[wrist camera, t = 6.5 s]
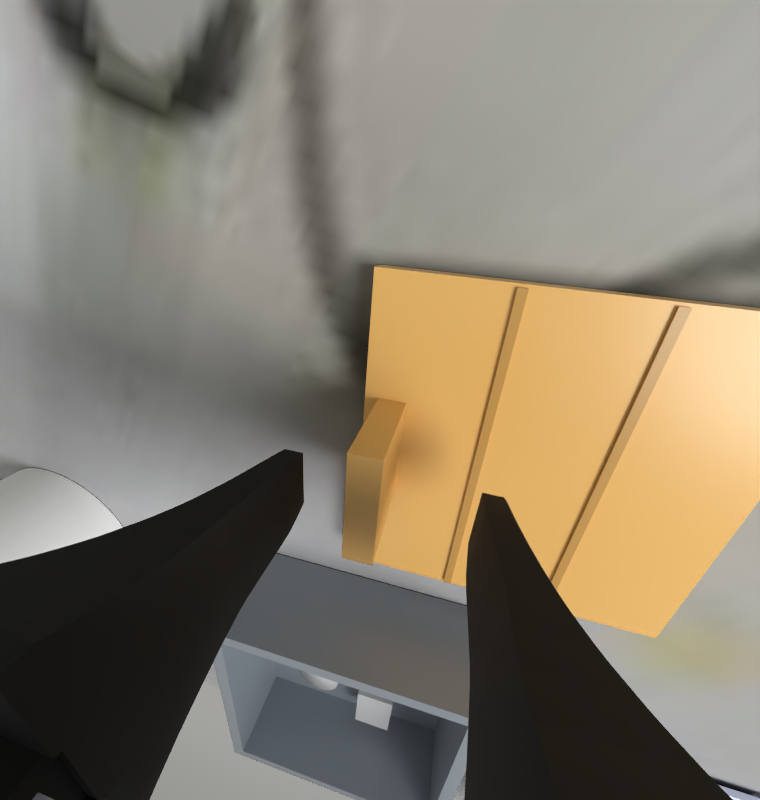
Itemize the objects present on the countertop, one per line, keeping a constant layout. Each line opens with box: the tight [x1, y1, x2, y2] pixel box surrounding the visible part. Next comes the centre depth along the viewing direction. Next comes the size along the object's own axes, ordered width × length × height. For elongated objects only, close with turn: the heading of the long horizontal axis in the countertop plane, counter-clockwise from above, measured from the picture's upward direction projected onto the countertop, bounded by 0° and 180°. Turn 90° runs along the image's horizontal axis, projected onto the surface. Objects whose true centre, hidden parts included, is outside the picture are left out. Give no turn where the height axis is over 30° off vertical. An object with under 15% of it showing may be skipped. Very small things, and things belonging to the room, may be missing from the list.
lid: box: [342, 265, 760, 638], centre depth 11 cm, size 13×13×5 cm
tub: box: [214, 553, 470, 800], centre depth 19 cm, size 12×12×4 cm
